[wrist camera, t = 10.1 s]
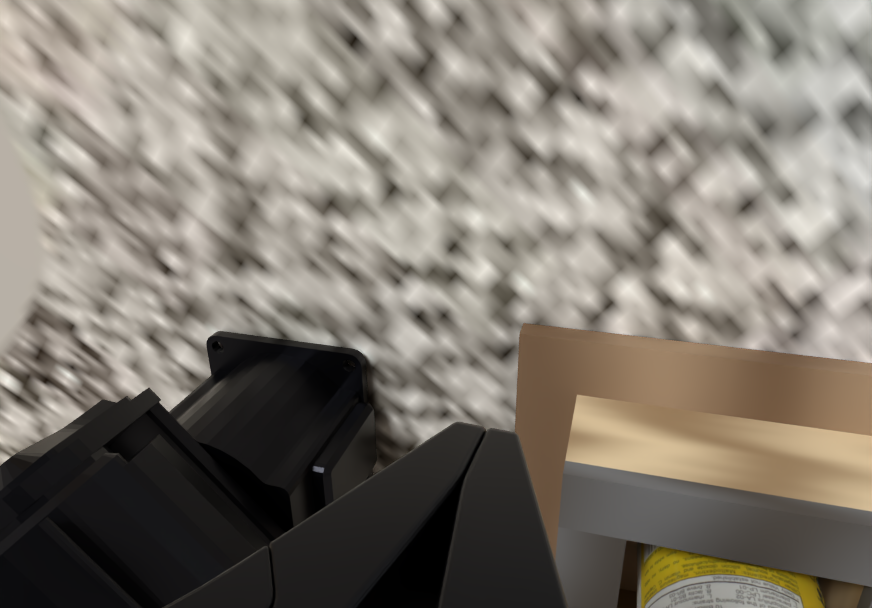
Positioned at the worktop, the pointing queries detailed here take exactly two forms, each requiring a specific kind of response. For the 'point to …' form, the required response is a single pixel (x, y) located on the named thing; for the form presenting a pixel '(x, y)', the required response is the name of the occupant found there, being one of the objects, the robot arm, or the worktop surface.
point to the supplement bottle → (718, 582)
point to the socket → (695, 459)
